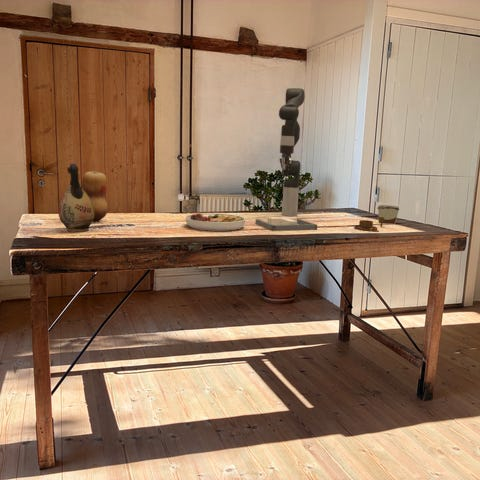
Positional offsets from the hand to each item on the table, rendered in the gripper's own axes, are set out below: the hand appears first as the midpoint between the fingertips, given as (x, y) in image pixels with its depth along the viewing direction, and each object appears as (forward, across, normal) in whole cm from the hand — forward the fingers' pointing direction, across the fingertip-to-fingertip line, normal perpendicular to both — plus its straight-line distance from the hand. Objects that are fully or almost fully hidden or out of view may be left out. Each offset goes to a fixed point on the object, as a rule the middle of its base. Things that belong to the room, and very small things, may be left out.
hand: (285, 176), depth 265 cm
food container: (+26, +14, +60) cm, 66 cm away
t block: (+24, +20, -7) cm, 32 cm away
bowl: (+24, +16, -44) cm, 53 cm away
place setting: (+25, +33, +37) cm, 56 cm away
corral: (+24, +20, -7) cm, 32 cm away
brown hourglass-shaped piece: (+24, -7, -102) cm, 105 cm away
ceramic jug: (+23, +19, -110) cm, 114 cm away
